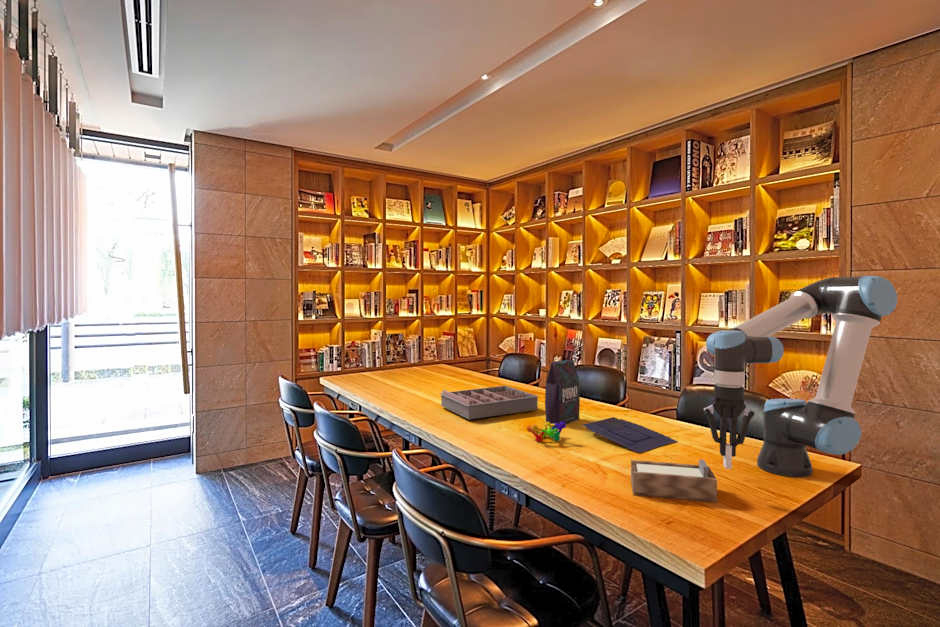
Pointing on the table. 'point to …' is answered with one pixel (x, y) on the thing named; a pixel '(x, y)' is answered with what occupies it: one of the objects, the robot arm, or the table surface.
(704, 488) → the box
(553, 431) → the decorative model
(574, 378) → the black coffee bag
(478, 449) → the table surface
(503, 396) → the organizer tray
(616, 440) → the dark blue flat slab
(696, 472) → the lid
